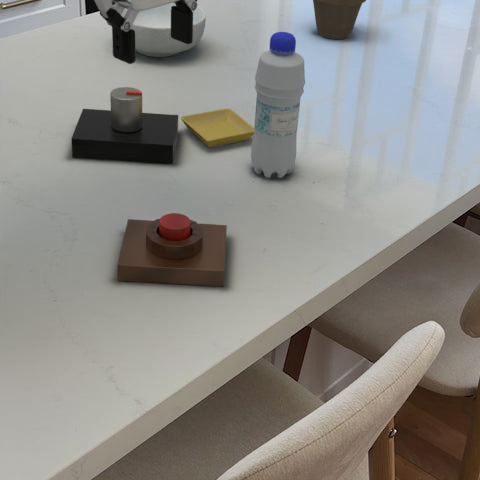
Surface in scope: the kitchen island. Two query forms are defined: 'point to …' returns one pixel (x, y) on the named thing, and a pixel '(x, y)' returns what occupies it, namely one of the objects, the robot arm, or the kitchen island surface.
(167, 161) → the black knob base
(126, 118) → the dial knob
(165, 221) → the button
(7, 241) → the kitchen island surface
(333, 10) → the flower pot
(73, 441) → the kitchen island surface
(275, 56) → the bottle
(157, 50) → the cereal bowl
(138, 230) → the button block
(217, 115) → the saucer
